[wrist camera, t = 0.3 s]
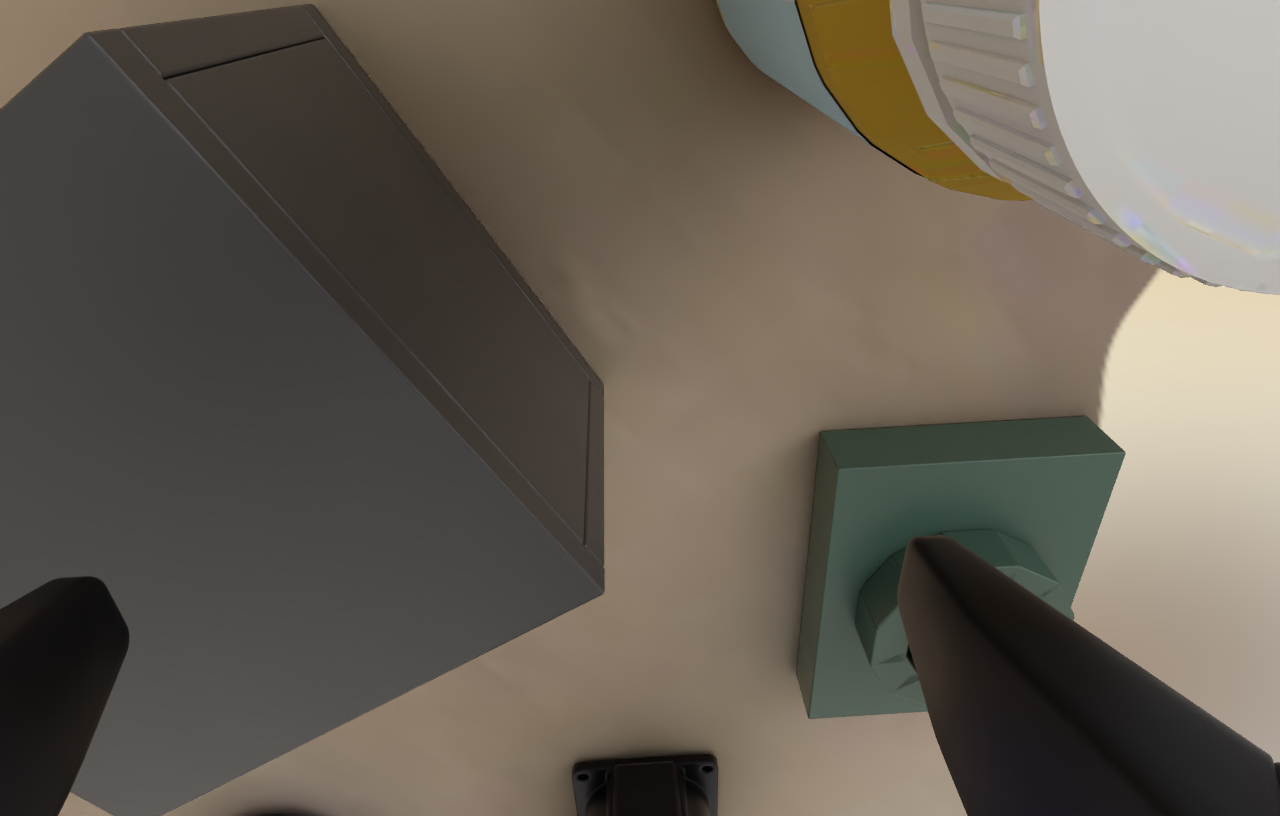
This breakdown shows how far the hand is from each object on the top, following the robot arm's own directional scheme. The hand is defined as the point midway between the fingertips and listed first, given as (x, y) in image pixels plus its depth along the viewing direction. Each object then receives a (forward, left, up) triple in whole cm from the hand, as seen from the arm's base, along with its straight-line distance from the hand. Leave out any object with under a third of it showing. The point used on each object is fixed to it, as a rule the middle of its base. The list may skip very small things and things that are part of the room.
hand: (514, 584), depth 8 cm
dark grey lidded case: (-4, +9, -14) cm, 17 cm away
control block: (-14, -12, -14) cm, 23 cm away
